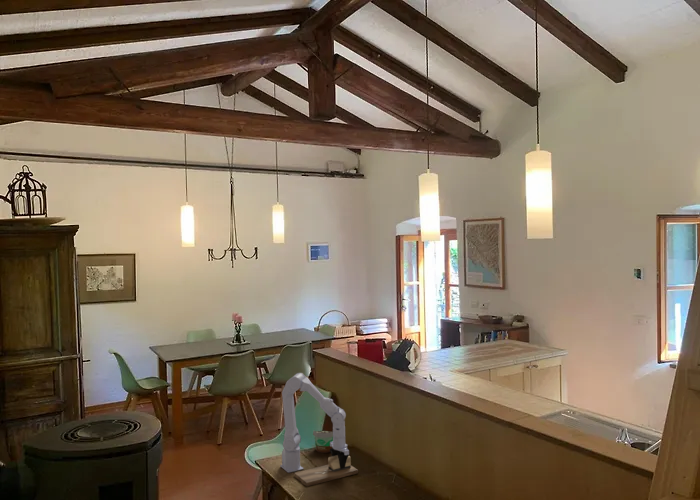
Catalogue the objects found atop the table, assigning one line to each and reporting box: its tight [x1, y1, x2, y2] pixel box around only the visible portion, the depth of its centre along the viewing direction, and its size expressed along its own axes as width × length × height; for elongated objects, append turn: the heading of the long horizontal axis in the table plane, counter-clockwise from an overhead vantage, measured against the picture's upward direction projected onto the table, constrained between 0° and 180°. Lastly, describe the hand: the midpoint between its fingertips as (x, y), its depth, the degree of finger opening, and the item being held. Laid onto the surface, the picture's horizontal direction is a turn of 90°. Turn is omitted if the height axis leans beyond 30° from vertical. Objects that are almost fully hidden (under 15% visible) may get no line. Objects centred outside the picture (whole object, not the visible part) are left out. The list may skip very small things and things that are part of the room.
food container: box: [312, 429, 333, 454], centre depth 277 cm, size 12×6×10 cm, turn 80°
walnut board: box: [293, 464, 359, 487], centre depth 247 cm, size 13×26×2 cm, turn 121°
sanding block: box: [327, 455, 352, 472], centre depth 251 cm, size 5×9×5 cm, turn 121°
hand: (339, 466), depth 251 cm, fingers closed on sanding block, 5 cm apart
